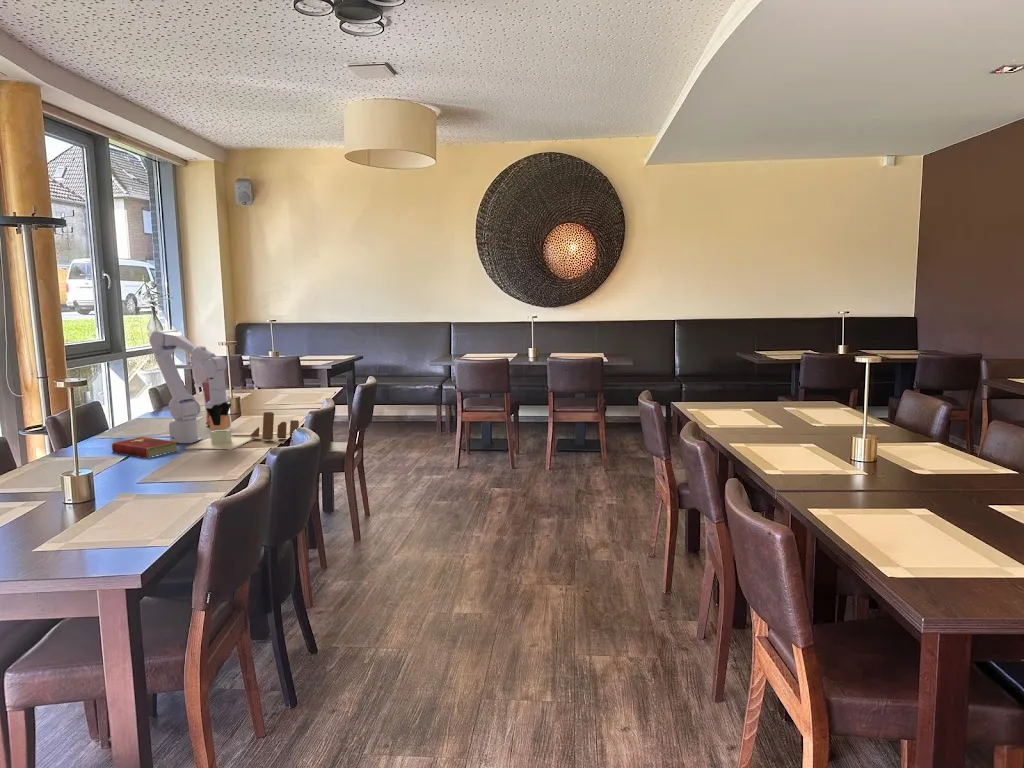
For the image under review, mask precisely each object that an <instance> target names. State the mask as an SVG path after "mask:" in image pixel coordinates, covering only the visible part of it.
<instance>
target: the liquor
mask: <svg viewBox="0 0 1024 768" xmlns="http://www.w3.org/2000/svg"><path fill="white" fill-rule="evenodd" d="M201 386H202V395H203V402H204V410H205V417H206V419H205V420H206V422H205V425H207V426H208V427H210V420H209V417H211V416H210V414H209V413H208V411H207V410H206V405H205V403H207V402H209V401H210V394H209V380H208V376H207V375H206V380H203V381H202V383H201Z"/></svg>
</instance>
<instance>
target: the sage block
mask: <svg viewBox="0 0 1024 768" xmlns="http://www.w3.org/2000/svg"><path fill="white" fill-rule="evenodd" d="M209 434H210V438H211V444H227V443H229V442H232V439H231V437H232V430H231V429H215V430H214V429H213V431H212V430H211V431H210V433H209Z"/></svg>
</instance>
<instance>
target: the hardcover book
mask: <svg viewBox="0 0 1024 768" xmlns="http://www.w3.org/2000/svg"><path fill="white" fill-rule="evenodd" d="M177 444H179V443H178V442H175V441H170V439H169V440H168V439H161V438H154V437H148V436H139V437H133V438H129V439H124V440H120V441H115V442H112V443H111V450H112V453H115V452H117V453H116V454H121V453H122V454H121V455H126V454H129V455H128V456H132V455H134V456H133V457H137V456H140V457H139V458H143V457H146V458H145V459H150V458H149V457H151V458H153V457H152V456H155V457H157V456H156V455H159V456H161V455H160V454H164V453H168V452H172V453H174V452H173V451H176V452H178V450H177V449H178V448H177ZM168 454H169V453H168ZM164 455H165V454H164Z"/></svg>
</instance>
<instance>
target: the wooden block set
mask: <svg viewBox="0 0 1024 768" xmlns="http://www.w3.org/2000/svg"><path fill="white" fill-rule="evenodd" d="M274 417H275V413H274V412H272V411H266V412H263V417H262V437H261V438H262V440H264V441H265V440H266V441H269V440H270V441H271V440H273V439H274V422H275V420H274ZM289 423H290V424H289V425H290V427H289V437H291V436H292V433H293V431H294V430H295V429H297V428H298V427H300V421H299V420H296V419H295V420H293V419H291V420H290V421H289ZM287 425H288V424H287V422H286V421H282V422H280V423H278V424H277V434H276V435H277V436H276V437H277V439H287ZM249 437H250V438H258V437H260V427H259V426H258V427H257V428H256V429H255V430H254V431H253V432H251V434H250V435H249Z"/></svg>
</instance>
